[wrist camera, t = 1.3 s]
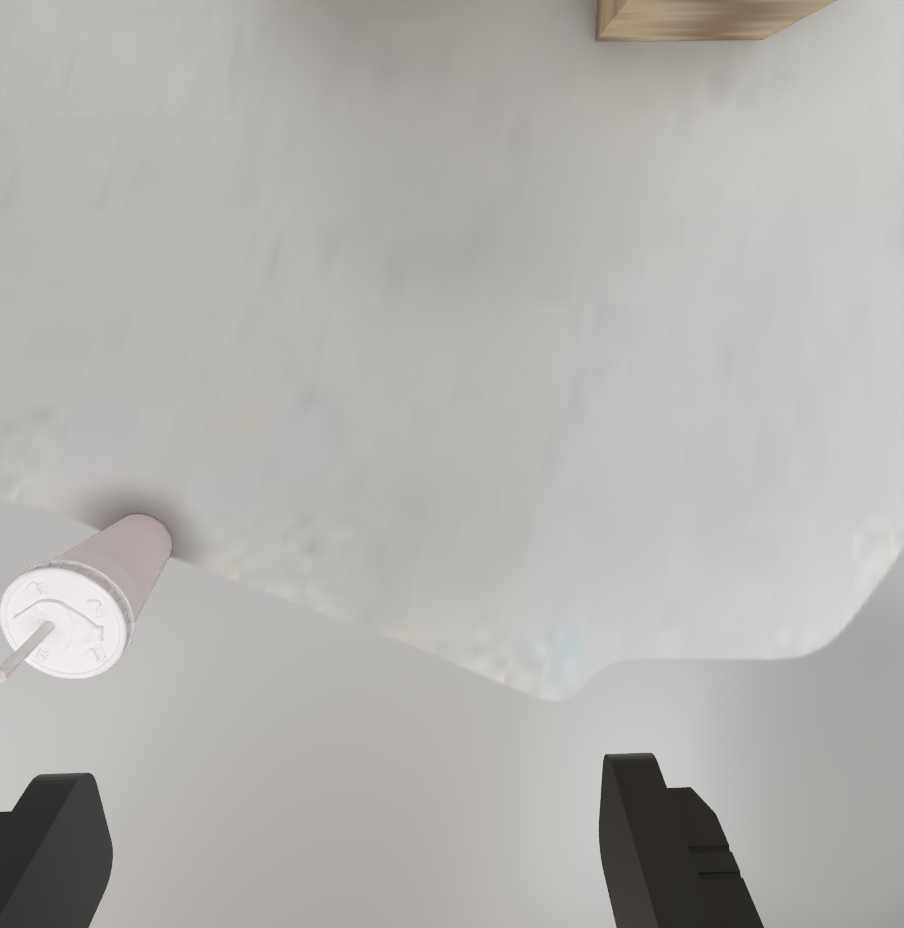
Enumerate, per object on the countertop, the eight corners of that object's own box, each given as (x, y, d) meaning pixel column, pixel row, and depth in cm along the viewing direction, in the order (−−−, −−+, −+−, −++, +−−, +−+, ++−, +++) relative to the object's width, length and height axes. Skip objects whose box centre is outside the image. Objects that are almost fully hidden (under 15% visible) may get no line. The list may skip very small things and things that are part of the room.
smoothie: (91, 484, 46) (-64, 602, 32) (198, 504, 46) (87, 630, 33) (88, 577, 48) (-59, 725, 35) (190, 596, 48) (82, 749, 35)
